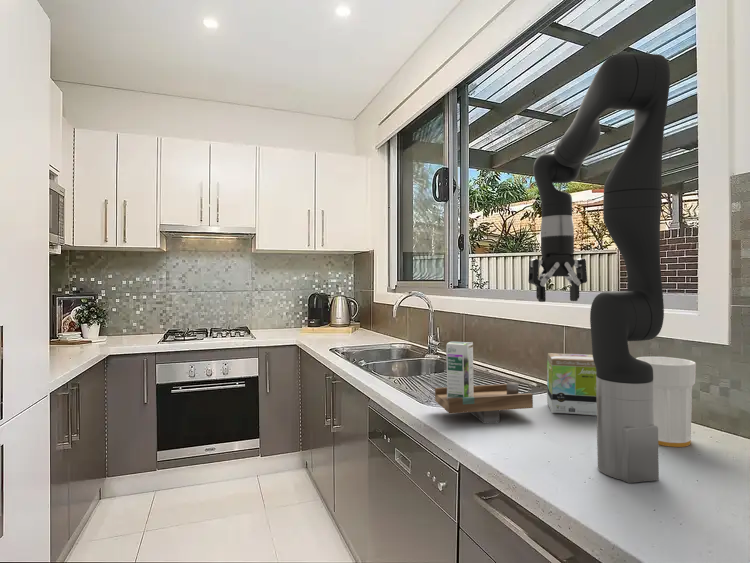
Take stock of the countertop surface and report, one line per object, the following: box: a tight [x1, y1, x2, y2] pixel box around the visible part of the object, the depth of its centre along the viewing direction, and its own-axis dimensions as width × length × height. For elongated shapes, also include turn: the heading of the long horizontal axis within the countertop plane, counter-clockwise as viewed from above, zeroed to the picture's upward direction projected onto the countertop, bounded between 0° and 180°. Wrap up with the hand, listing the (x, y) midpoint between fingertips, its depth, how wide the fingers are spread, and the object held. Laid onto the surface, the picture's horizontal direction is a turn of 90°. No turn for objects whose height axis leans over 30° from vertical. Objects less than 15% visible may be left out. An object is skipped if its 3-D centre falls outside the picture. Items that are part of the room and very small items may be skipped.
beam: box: [434, 381, 534, 424], centre depth 120 cm, size 12×22×8 cm, turn 99°
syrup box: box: [445, 341, 475, 399], centre depth 118 cm, size 6×6×14 cm
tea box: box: [546, 352, 597, 417], centre depth 123 cm, size 15×10×15 cm, turn 76°
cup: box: [635, 355, 697, 448], centre depth 100 cm, size 11×11×17 cm
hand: (558, 301), depth 112 cm, fingers open, 8 cm apart
